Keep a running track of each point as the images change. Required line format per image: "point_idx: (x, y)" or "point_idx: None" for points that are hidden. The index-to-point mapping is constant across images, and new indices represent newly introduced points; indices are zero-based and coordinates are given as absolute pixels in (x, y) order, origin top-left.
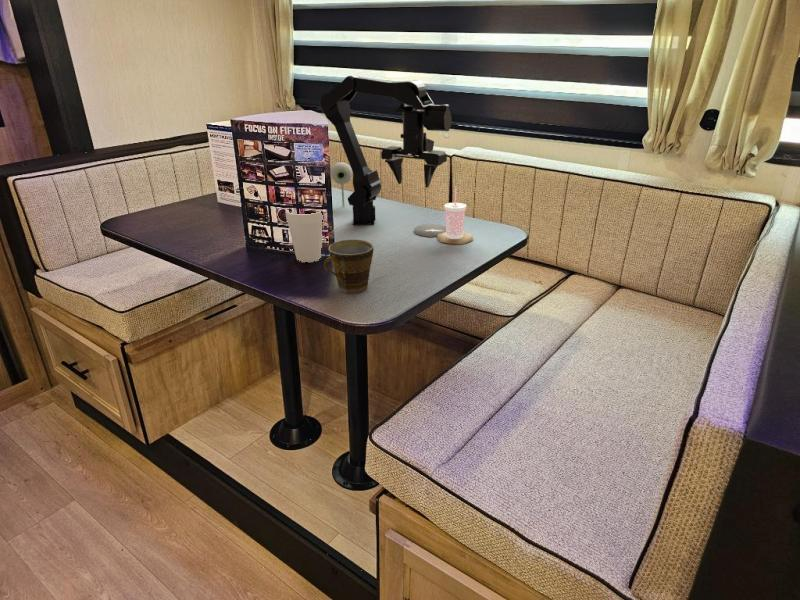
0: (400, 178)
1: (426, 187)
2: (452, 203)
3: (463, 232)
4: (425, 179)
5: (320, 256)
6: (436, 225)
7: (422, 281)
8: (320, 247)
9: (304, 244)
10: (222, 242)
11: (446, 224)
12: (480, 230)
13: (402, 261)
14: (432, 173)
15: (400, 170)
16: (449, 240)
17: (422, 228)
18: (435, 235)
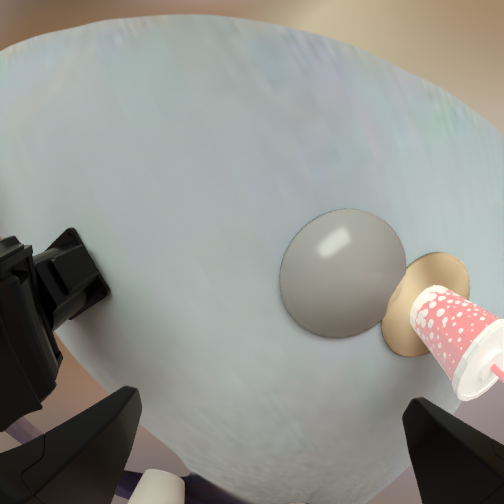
0: (124, 432)
1: (406, 418)
2: (486, 343)
3: (449, 262)
4: (421, 479)
5: (183, 484)
6: (352, 223)
7: (378, 475)
8: (182, 498)
9: None
10: (28, 429)
11: (430, 351)
12: (475, 198)
13: (331, 458)
14: (494, 461)
15: (79, 478)
16: (420, 346)
17: (312, 283)
18: (375, 322)
